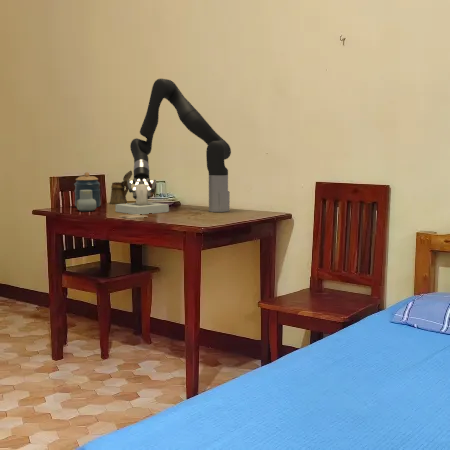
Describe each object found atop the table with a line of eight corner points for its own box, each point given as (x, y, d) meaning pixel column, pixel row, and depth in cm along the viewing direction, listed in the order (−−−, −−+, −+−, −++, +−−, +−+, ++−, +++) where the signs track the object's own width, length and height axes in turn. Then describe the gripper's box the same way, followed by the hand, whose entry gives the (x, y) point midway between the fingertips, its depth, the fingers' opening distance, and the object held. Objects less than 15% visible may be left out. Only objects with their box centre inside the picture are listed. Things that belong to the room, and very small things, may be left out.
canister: (74, 205, 321) (72, 171, 319) (99, 205, 325) (98, 171, 323) (75, 208, 309) (74, 173, 307) (102, 207, 313) (101, 172, 310)
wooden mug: (127, 205, 325) (126, 170, 322) (106, 203, 331) (105, 170, 329) (137, 203, 333) (136, 169, 330) (116, 202, 339) (115, 169, 336)
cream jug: (136, 211, 296) (135, 184, 295) (148, 211, 297) (147, 183, 295) (136, 213, 289) (135, 185, 287) (148, 212, 289) (147, 185, 288)
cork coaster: (147, 217, 273) (147, 216, 273) (130, 219, 267) (130, 217, 267) (136, 215, 279) (136, 214, 279) (119, 217, 273) (119, 215, 273)
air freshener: (97, 211, 295) (96, 190, 294) (79, 212, 292) (78, 191, 291) (93, 209, 305) (92, 189, 304) (76, 210, 302) (75, 189, 301)
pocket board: (168, 211, 293) (168, 204, 293) (137, 215, 281) (137, 207, 281) (146, 208, 307) (146, 201, 306) (115, 211, 295) (115, 204, 294)
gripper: (126, 166, 298) (126, 193, 287) (156, 165, 299) (157, 192, 289) (126, 176, 303) (126, 203, 293) (156, 176, 305) (157, 202, 295)
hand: (141, 197), depth 291 cm, fingers closed on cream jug, 5 cm apart
